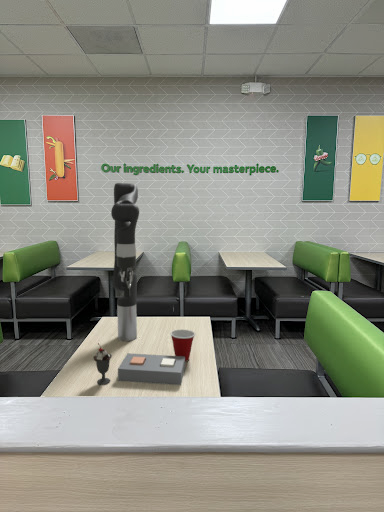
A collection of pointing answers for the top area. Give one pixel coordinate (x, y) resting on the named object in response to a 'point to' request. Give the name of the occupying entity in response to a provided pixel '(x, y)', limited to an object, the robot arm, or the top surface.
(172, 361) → the ivory key
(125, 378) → the key panel
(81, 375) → the top surface
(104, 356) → the sundae
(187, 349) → the plastic cup
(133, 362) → the terracotta key
